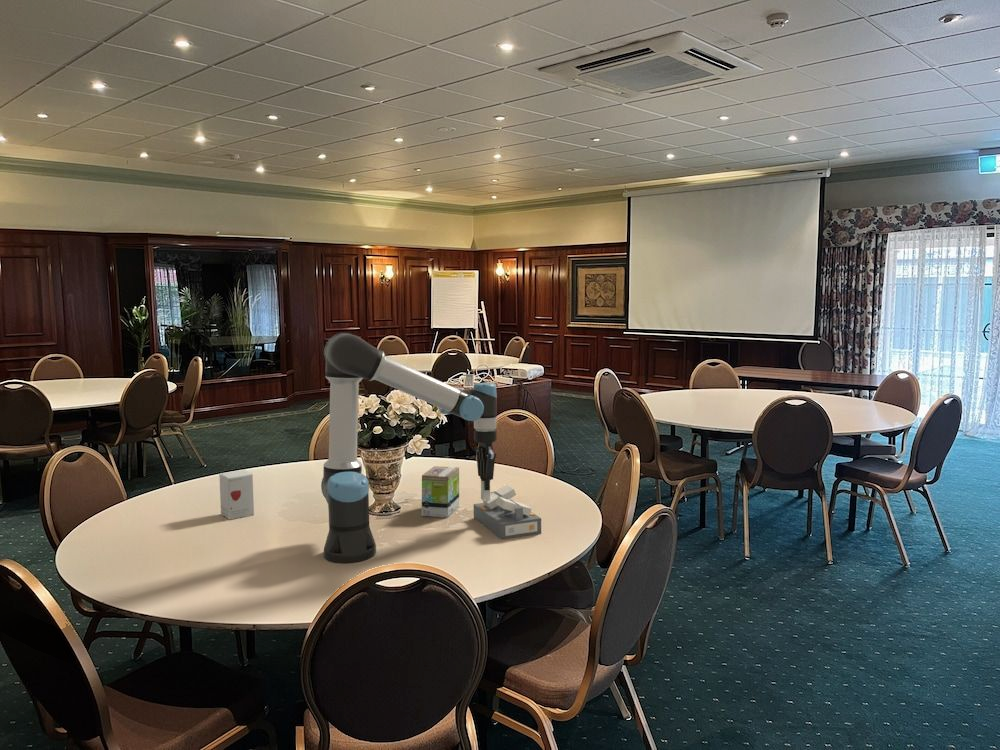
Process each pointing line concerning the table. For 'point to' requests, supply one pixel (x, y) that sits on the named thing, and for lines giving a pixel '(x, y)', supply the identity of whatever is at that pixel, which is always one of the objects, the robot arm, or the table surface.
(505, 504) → the rocker
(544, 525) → the table surface
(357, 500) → the robot arm
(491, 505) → the rocker
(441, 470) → the tea box
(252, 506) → the supplement box
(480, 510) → the switch unit
